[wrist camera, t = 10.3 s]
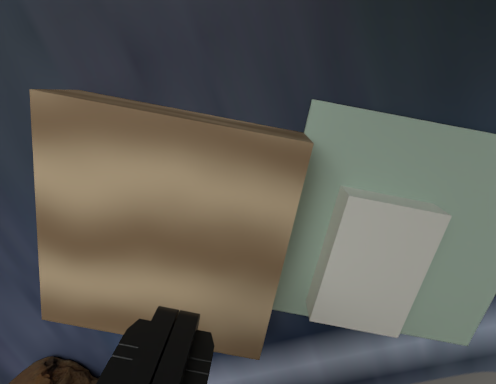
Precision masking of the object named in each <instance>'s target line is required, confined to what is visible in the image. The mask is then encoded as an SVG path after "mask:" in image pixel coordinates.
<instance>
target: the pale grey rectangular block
mask: <svg viewBox="0 0 496 384" xmlns="http://www.w3.org/2000/svg"><path fill="white" fill-rule="evenodd" d="M451 217H452V216H451V215H450V214H448V213H447V212H445V211H444V210H442V209H441V208H439V207H438V206H436V205H435V204H433V203H428V202H423V201H418V200H412V199H407V198H402V197H397V196H392V195H387V194H382V193H377V192H372V191H367V190H362V189H356V188H351V187H346V186H340V189H339V192H338V196H337V199H336V202H335V206H334V209H333V212H332V216H331V219H330V222H329V226H328V229H327V232H326V235H325V239H324V242H323V245H322V249H321V252H320V255H319V259H318V262H317V265H316V269H315V272H314V275H313V278H312V282H311V285H310V288H309V292H308V295H307V298H306V306H307V311H308V316H309V321H312V322H317V323H322V324H328V325H333V326H338V327H343V328H348V329H353V330H359V331H364V332H369V333H374V334H379V335H384V336H390V337H395V338H398V336H399V334H400V332H401V330H402V327H403V325H404V323H405V321H406V318H407V316H408V314H409V312H410V309H411V307H412V305H413V303H414V300H415V298H416V296H417V294H418V291H419V289H420V287H421V285H422V282H423V280H424V278H425V276H426V273H427V271H428V269H429V267H430V264H431V262H432V260H433V258H434V255H435V253H436V251H437V249H438V246H439V244H440V242H441V240H442V237H443V235H444V233H445V231H446V228H447V226H448V224H449V222H450V219H451Z"/></svg>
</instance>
